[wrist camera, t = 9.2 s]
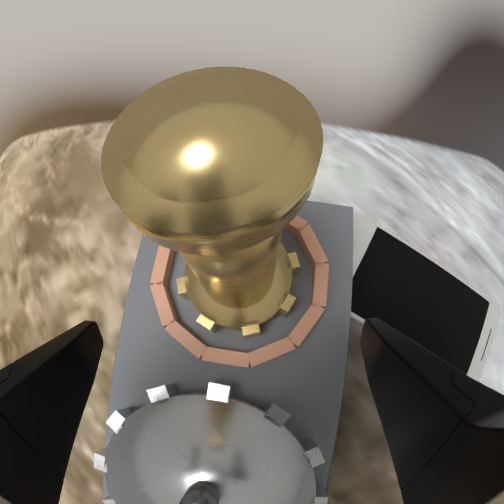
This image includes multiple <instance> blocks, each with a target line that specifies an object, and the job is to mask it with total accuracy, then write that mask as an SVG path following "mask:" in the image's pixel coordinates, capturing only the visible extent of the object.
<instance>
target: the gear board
mask: <svg viewBox="0 0 504 504" xmlns="http://www.w3.org/2000/svg"><path fill="white" fill-rule="evenodd" d="M280 243H281V244H282V245H283V247H284V248H285V250H286V252H287V253H292V252H296V254H297V257H298V261H299V264H300V268H299V270H298V273H297V275H296V276H293V277H292V283H291V288H290V291H289V294H290V295H292V296H294V297H296V299H295V301H294V303H293V305H292V306H291V308H290V310H289V311H288V313H287V315H286V316H285V317H284V316H282V315H280V314H279V313H277V315H276V316H275V317H274V318H272V319H271V320H270V321H269V322H267V323H266V324H264V325H262V326H260V327H259V329H260V335H259V336H254V337H250V338H246V339H245V338H244V336H243V332H242V331H234V330H228V329H224V328H222V327H218V329H217V330H216V332H215V333H213V332H212V331H210V330H209V329H207V328H206V327H204V326H203V325H201V324H200V323H198V322H197V321H196V320H197V319H198V317H199V316H200V314H201V313H200V312H199V311H198V310H197V309H196V308H195V306H194V305H193V304H192V302H191V300H187V301H186V300H185V299H183V298H182V297H181V296H180V295H179V294H178V288H177V281H176V279H177V278H181V277H184V272H185V265H186V261H185V260H184V258H183V257H182V255H181V254H180V252H177V251H173V250H171V249H168V248H165V247H163V246H160V245H159V244H157V243H155V242H153V241H151V240H150V239H148V238H147V237H146V236H145V235H143V236H142V240H141V243H140V247H139V251H138V254H137V258H136V262H135V266H134V270H133V274H132V278H131V282H130V286H129V291H128V295H127V300H126V304H125V309H124V314H123V319H122V324H121V329H120V334H119V339H118V345H117V351H116V357H115V363H114V369H113V376H112V383H111V391H110V399H109V407H108V417H107V420H108V419H109V418H110V417H111V416H112V414H113V413H114V412H115V411H116V410H119V409H123V408H127V407H130V408H132V409H133V410H134V411H136V410H138V409H140V408H142V407H144V406H146V405H148V404H150V403H151V400H150V398H149V395H148V392H147V390H150V389H153V388H156V387H160V386H163V385H167V384H172V383H175V385H176V388H177V390H178V393H179V394H182V393H191V392H208V386H209V382H212V381H220V382H226V383H233V389H232V396H236V397H239V398H242V399H244V400H247V401H250V402H252V403H254V404H256V405H259V406H261V407H262V408H265V407H266V406H267V405H268V403H269V402H270V401H271V400H272V399H273V400H274V401H276V402H277V403H278V404H280V405H281V406H283V407H284V408H286V409H287V410H288V412H289V413H290V415H291V416H290V417H289V418H288V419H287V421H286V422H285V423H284V424H285V425H286V426H287V427H288V428H289V429H290V430H291V431H292V432H293V433H294V435H295V436H296V437H297V439H298V440H299V442H300V443H301V442H304V441H306V440H308V439H311V438H312V439H313V440H314V442H315V443H316V444H317V446H318V447H319V449H320V452H321V454H322V456H323V458H324V460H325V463H323V464H320V465H318V466H316V467H313V471H314V475H315V481H316V485H322V486H323V488H324V490H325V489H326V485H327V480H328V476H329V471H330V466H331V462H332V457H333V451H334V446H335V441H336V435H337V429H338V423H339V417H340V410H341V404H342V396H343V389H344V381H345V373H346V363H347V354H348V343H349V331H350V318H351V301H352V279H353V207H347V206H341V205H334V204H327V203H320V202H312V201H306V203H305V205H304V206H303V208H302V209H301V210H300V212H299V213H298V215H297V216H296V217H295V218H294V219H293V220H292V221H291V222H290V223H289V224H288V225H287V226H286V227H284V228H283V229H282V233H281V239H280ZM114 432H115V431H114V430H113V429H112V428H111V427H110V426H109V425H108V424H107V427H106V439H105V448H106V447H108V444H109V442H110V439H111V437H112V435H113V434H114ZM108 495H109V492H108V489H107V486H106V481H105V475H104V479H103V499H104V498H106V497H107V496H108ZM103 504H104V502H103Z"/></svg>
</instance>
